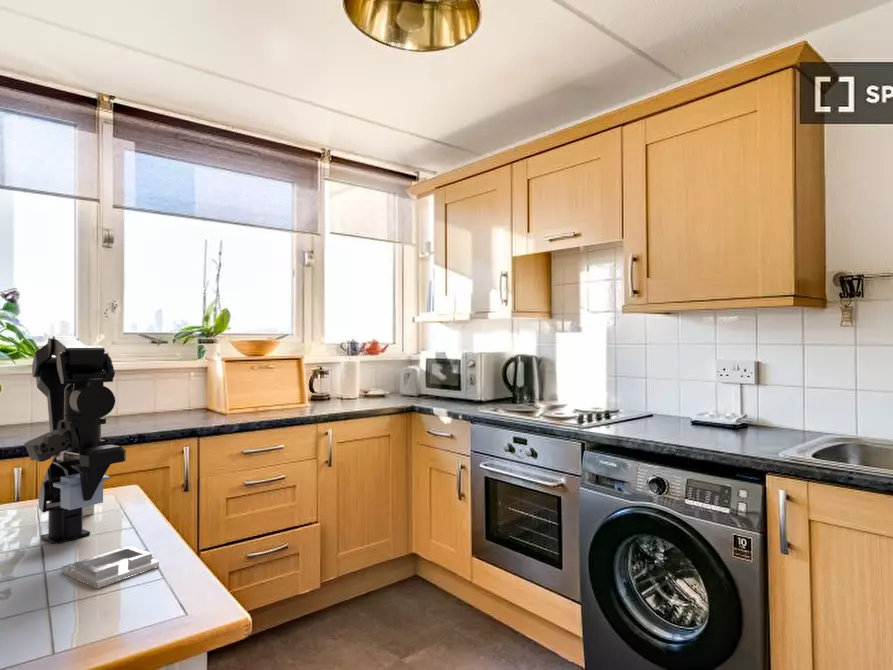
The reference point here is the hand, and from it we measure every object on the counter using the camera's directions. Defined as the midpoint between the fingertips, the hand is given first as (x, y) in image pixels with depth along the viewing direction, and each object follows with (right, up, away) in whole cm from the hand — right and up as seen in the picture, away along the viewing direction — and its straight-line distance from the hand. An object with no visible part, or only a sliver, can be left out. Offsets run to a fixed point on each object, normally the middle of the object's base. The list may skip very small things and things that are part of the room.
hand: (82, 498), depth 101 cm
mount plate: (+9, -10, -6) cm, 15 cm away
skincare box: (-17, -11, +25) cm, 33 cm away
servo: (0, -1, 0) cm, 1 cm away
